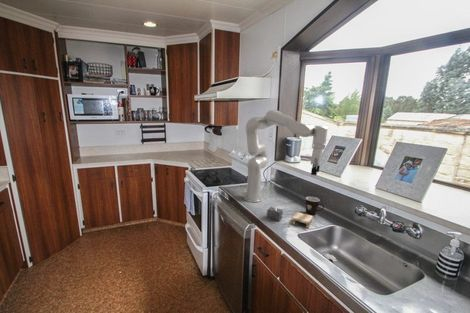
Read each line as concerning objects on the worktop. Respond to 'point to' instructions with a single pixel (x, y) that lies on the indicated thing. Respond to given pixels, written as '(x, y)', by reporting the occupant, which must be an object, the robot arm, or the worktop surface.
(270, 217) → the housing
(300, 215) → the stand
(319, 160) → the robot arm
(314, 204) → the coffee mug
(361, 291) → the worktop surface
